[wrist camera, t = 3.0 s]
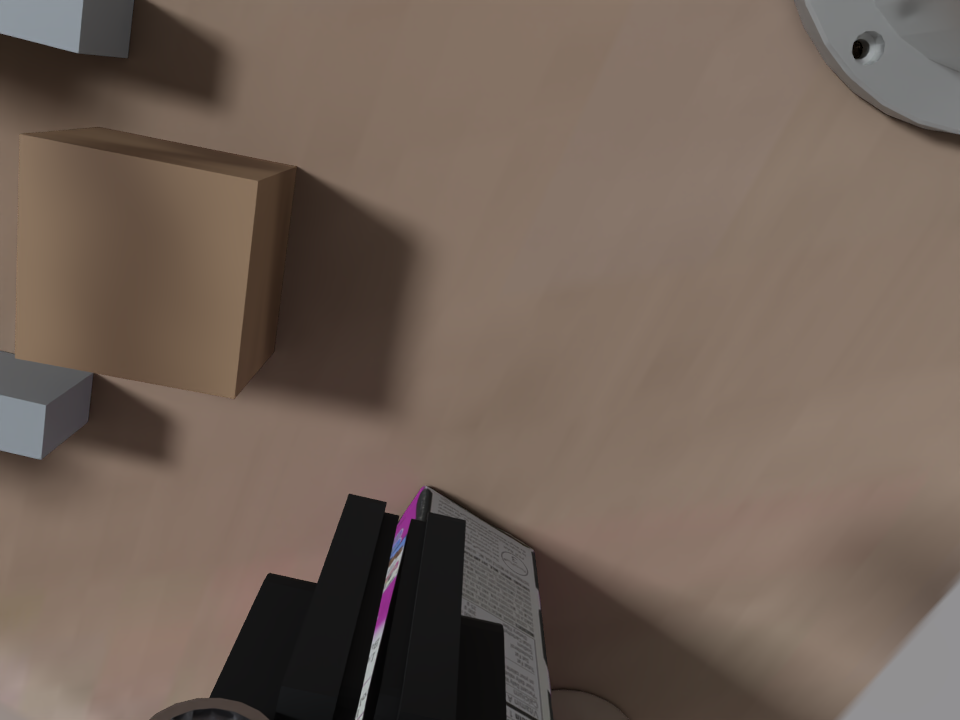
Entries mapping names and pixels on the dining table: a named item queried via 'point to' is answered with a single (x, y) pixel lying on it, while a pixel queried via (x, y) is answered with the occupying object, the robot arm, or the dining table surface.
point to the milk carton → (486, 602)
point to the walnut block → (149, 258)
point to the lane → (4, 379)
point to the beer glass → (582, 707)
